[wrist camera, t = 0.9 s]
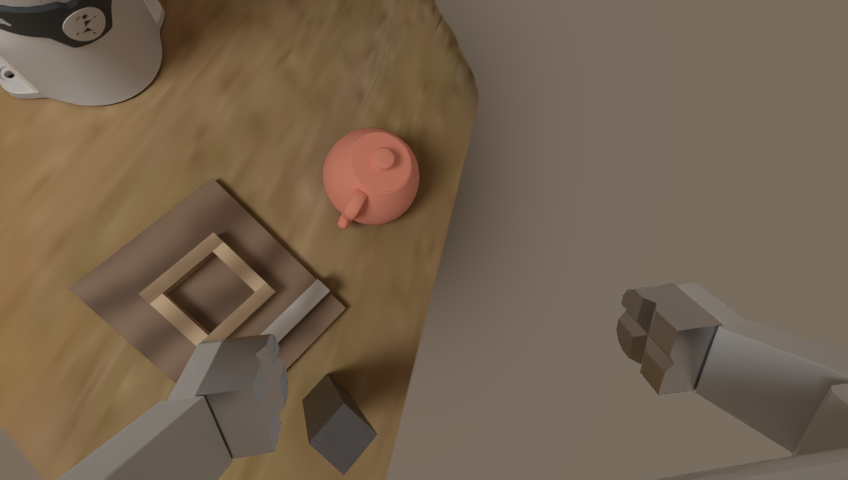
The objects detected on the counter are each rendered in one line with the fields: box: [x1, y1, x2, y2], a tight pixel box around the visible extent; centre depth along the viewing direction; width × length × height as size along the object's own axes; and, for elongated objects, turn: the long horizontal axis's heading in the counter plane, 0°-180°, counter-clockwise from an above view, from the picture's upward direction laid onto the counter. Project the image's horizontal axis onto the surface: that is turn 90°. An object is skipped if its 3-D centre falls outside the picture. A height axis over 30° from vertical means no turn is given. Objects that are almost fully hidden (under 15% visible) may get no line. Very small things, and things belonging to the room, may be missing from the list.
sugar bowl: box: [322, 128, 419, 229], centre depth 50 cm, size 12×14×10 cm
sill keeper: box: [69, 178, 346, 383], centre depth 46 cm, size 22×18×3 cm
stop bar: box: [302, 374, 377, 475], centre depth 41 cm, size 4×4×16 cm
